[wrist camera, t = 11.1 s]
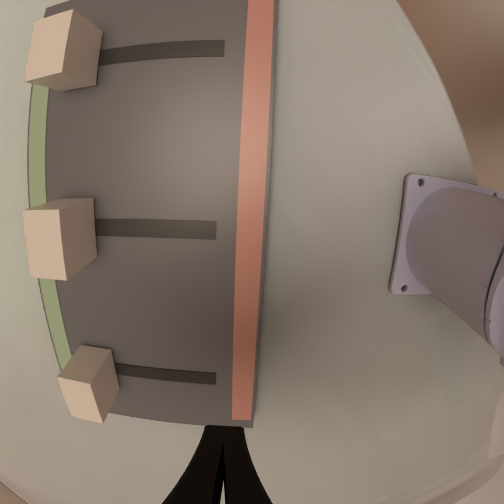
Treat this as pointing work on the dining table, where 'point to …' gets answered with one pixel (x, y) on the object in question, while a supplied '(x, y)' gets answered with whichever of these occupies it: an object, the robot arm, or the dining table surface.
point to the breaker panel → (166, 201)
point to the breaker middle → (60, 237)
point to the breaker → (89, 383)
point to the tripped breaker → (64, 52)
